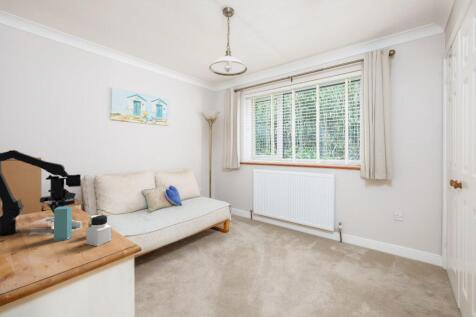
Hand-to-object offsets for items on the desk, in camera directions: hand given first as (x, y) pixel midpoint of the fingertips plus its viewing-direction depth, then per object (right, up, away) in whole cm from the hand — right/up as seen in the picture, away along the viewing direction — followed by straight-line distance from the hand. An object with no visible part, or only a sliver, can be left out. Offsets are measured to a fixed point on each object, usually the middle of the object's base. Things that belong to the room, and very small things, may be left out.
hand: (57, 216), depth 117 cm
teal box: (+15, -6, -14) cm, 21 cm away
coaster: (+15, -6, -14) cm, 22 cm away
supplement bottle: (+27, -7, -10) cm, 29 cm away
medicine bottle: (+34, -7, -18) cm, 39 cm away
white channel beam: (+7, -6, -2) cm, 9 cm away
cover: (+2, -2, -1) cm, 3 cm away
